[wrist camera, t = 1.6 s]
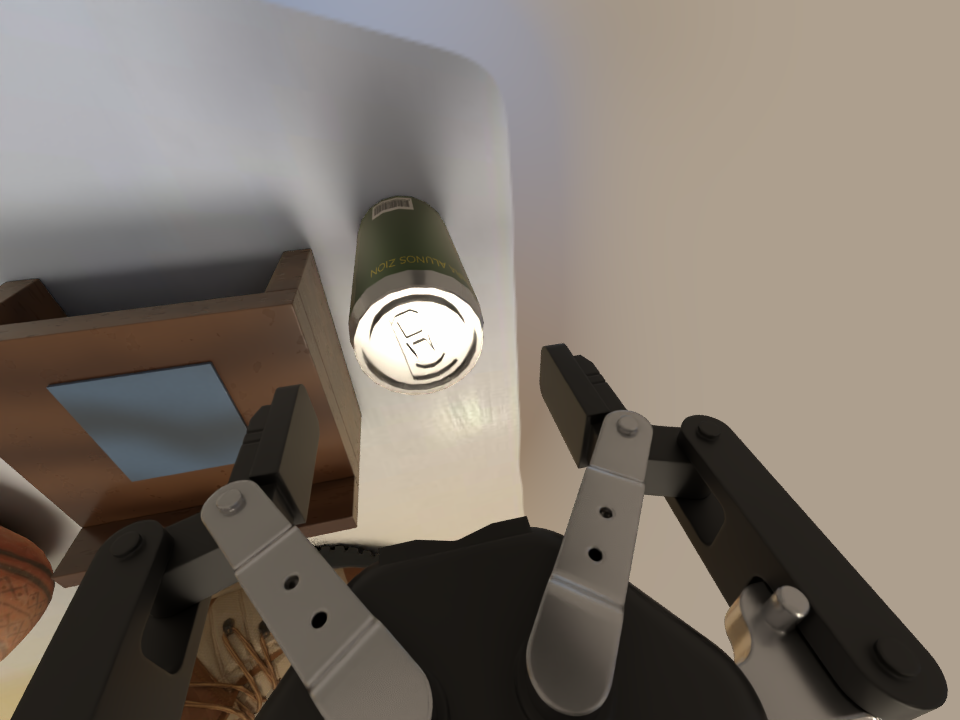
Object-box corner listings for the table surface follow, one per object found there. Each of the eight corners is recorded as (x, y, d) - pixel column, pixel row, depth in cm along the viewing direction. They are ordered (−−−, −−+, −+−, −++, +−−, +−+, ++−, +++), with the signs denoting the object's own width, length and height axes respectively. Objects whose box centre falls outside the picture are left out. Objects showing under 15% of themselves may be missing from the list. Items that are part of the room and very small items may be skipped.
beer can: (340, 215, 23) (316, 320, 14) (424, 176, 23) (458, 256, 14) (385, 291, 27) (391, 416, 17) (459, 257, 26) (506, 367, 17)
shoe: (407, 586, 50) (412, 745, 38) (147, 613, 43) (56, 816, 31) (412, 538, 44) (421, 708, 32) (115, 561, 37) (-10, 784, 26)
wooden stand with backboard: (5, 281, 22) (-202, 405, 14) (311, 248, 24) (280, 338, 16) (144, 451, 30) (64, 588, 22) (361, 415, 33) (357, 527, 25)
